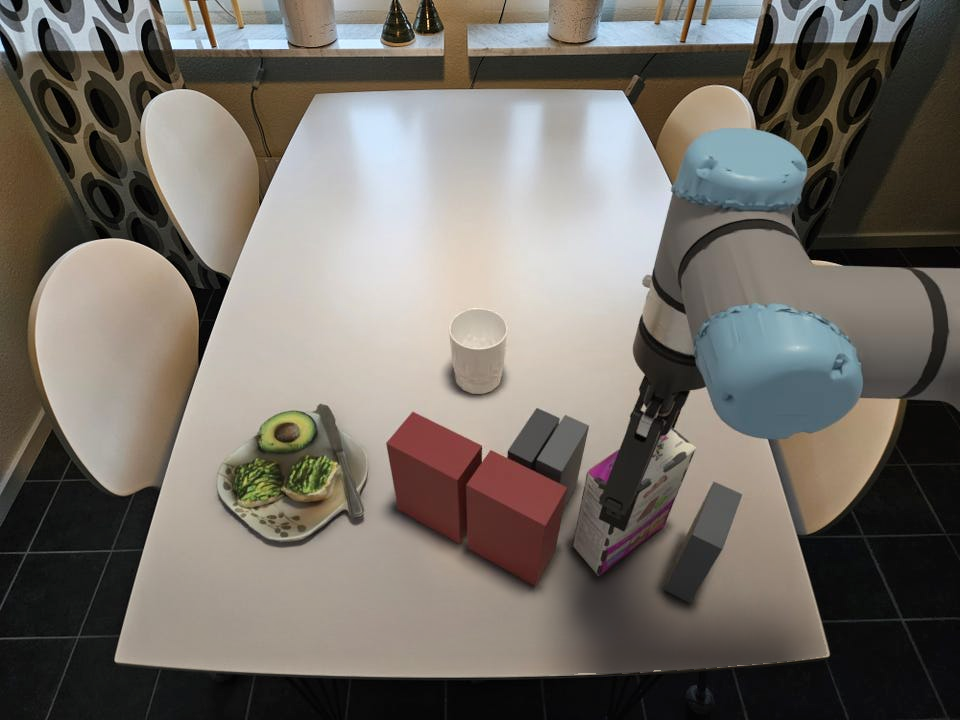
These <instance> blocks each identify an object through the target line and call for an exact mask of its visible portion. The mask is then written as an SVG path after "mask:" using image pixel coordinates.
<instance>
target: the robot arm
mask: <svg viewBox="0 0 960 720" xmlns="http://www.w3.org/2000/svg"><path fill="white" fill-rule="evenodd" d="M685 150H686V151H685V152H684V155H683V158H682V161H681V164H680V167H679V169H678V172H677V175H676V178H675V181H674V182H673V184H672V185H671V188H670V192H672V194H671V197H670V200H669V201H670V202H669V206H668V210H667V213H666V217H665V222H664V224H663V229H662V232H661V237H660V241H659V245H658V249H657V253H656V255H655V256H656V257H655V259H654V266H653V268H652V273H651V274H646V275H645V276H644V277H643V278H642V280H641V284H642V286H643V287H645V288H647V289H649V290H648V292H647V294H646V297H645V300H644V304H643V307H642V313H641V315H640V317H639V321H638V325H637V328H636V332H635V336H634V340H633V344H632V355H633V358H634V361H635V363H636V365H637V367H638V368H639V370H640V371H641V372H642V373H643V375H644V376H643V377H642V380H641V382H640V384H639V387H638V391H639V394H638V398H637V400H636V402H635V405H634V407H633V410H632V411H631V413H630V414H629V421H628V426H627V428H626V431H625V434H624V436H623V440H622V442H621V444H620V447H619V449H618V450H619V452H618V455H617V457H616V460H615V462H614V465H613V468H612V470H611V473H610V475H609V478H608V481H607V482H605V481H603V480H602V481H601V482H600V483H599V486H598V488H599V489H602V490H604V491H603V494H601V495H600V498H599V499H600V500H599V504H601V505H602V508H601V512H600V515H599V519H600V520H602V521H604V522H606V523H608V524H610V525H612V526H614V527H616V528H618V529H620V530H622V531H623V532H625V530H626V527H627V525H628V522H629V520H630V517H631V514H632V511H633V509H634V506H635V503H636V500H637V498H638V495H639V492H640V491H638V489H639V486H640V484H641V482H642V479H643V477H644V475H645V472H646V470H647V468H648V465H649V463H650V461H651V458H652V456H653V454H654V451H655V449H656V447H657V444H658V442H659V440H660V437H661V436H662V435H666V434H668V432H669V431H670V429H671V427H673V429H674V430H675V427H676V425H677V422H678V419H679V417H680V414H681V412H682V410H683V407H684V406H685V405H686V403H687V402H686V401H687V400H688V398H689V396H690V393H691V391H695V390H696V391H697V390H702V389H704V388H706V390H707V393H708V396H709V399H710V403H711V404H712V407H713V410H714V412H715V413H716V415H717V416H718V417H719V419H720V420H721V421H722V422H723V424H726V426H728V427H729V428H731V429H732V430H734V431H736V432H738V433H740V434H743V435H745V436H748V437H751V438H756V439H762V440H787V439H789V438H791V437H792V436H793V435H795V434H799V433H804V434H814V433H818V432H820V431H822V430H824V429H827V428H829V427H831V426H833V425H834V424H836V423H837V422H839V421H840V420H842V419H843V418H844V417H846V416H847V415H848V414H849V413H850V412H851V411H852V410H853V409H854V407H855V406H856V405H857V403H858V402H859V400H860V399H875V400H877V399H879V400H880V399H882V400H912V401H913V400H914V401H937V402H938V401H939V402H944V403H947V404H950V405H951V406H953V407H954V409H956V410H957V411H958V412H959V413H960V268H957V267H956V268H953V267H951V268H950V267H906V266H904V267H902V266H897V267H896V266H895V267H891V266H863V265H862V266H861V265H857V266H856V265H829V264H828V265H826V264H825V265H824V264H823V265H821V264H814V263H813V262H812V260H811V258H810V257H809V256H808V254H807V251H806V249H805V247H804V245H803V243H802V241H801V239H800V237H799V235H798V232H797V230H796V229H795V227H794V224H793V222H792V221H793V220H792V219H793V217H792V216H793V212H794V210H796V209H795V208H796V207H797V206H798V205H799V204H801V201H802V192H803V188H804V184H805V182H806V178H807V175H808V164H807V161H806V159H805V157H804V155H803V153H802V152H801V151H800V150H799V149H798V148H797V146H795V145H794V144H793V143H791V142H790V141H788V140H786V139H784V138H783V137H781V136H778V135H776V134H774V133H771V132H768V131H764V130H759V129H755V128H747V127H723V128H718V129H714V130H711V131H708V132H705V133H703V134H701V135H700V136H698V137H696V138H695V139H694V140H692V142H691V143H690V144H689V146H688V147H687V148H686V149H685ZM643 407H645V408H646V409H645V411H643V409H642V408H643ZM662 419H663V420H662ZM664 420H665V421H666V423H664Z"/></svg>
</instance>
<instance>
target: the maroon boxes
mask: <svg viewBox="0 0 960 720" xmlns="http://www.w3.org/2000/svg"><path fill="white" fill-rule="evenodd" d="M385 445H386V450H387V455H388V461H389V466H390V473H391V479H392V484H393V490H394V494H395V500H396V501H395V502H396V504H397V510H398V511H400V512H402V513H404V514H406V515H408V516H409V517H411V518H413V519H414V520H416V521H418V522H420V523H422V524H424V525H425V526H427V527H428V528H431V529H433V530H434V531H436V532H438V533H439V534H441V535H443V536H445V537H447V538H448V539H451V540H452V541H454V542H456V543H458V544H459V545H461V543H462V542H463V540H464V539H465V537H466V536H467V539H466V540H467V549H468V550H469V551H472V552H474V553H475V554H478V555H479V556H481V557H482V558H484V559H486V560H487V561H490V562H492V563H493V564H495V565H497V566H499V567H500V568H502V569H504V570H506V571H507V572H509V573H512V574H513V575H515V576H517V577H518V578H521V579H522V580H523V581H525V582H527V583H529V584H531V585H532V586H535V587H536V586H537V585H538V583H539V581H540V580H541V578H542V576H543V574H544V572H545V570H546V568H547V566H548V565H549V563H550V561H551V559H553V558H552V557H553V556H554V554H555V552H556V549H557V545H558V540H559V538H558V537H559V535H560V534H559V533H560V528H561V524H562V518H563V513H564V510H563V508H564V503H565V498H566V493H567V487H565V486H563V485H561V484H559V483H557V482H555V481H553V480H551V479H549V478H547V477H545V476H543V475H541V474H539V473H537V472H535V471H533V470H531V469H529V468H527V467H525V466H523V465H521V464H519V463H516V462H514V461H512V460H510V459H508V458H507V456H504V455H502V454H500V453H498V452H496V451H494V450H492V449H490V450H489V452H488V453H487V454H486V456H485V457H484V458H483V445H482V444H479V443H478V442H475V441H473V440H471V439H469V438H467V437H466V436H463V435H461V434H459V433H457V432H455V431H453V430H451V429H449V428H448V427H445V426H443V425H442V424H441V425H440V424H439V423H437V422H435V421H433V420H430V419H429V418H427V417H425V416H423V415H421V414H418V413H417V412H414V411H411V413H410V414H409V415H408V416H407V418H406V419H405V420H404V421H403V422H402V424H401V425H400V426H399V427H398V428H397V430H396V431H394V433H393V434H392V436H391V437H390V438H389V439H388V440H387V441H386V442H385ZM564 509H565V508H564Z"/></svg>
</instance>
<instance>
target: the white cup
mask: <svg viewBox="0 0 960 720" xmlns="http://www.w3.org/2000/svg"><path fill="white" fill-rule="evenodd" d="M507 323H508V322H507V321H506V319H505V318H504V317H503V316H502V315H501V314H500V313H499V312H496V311H495V310H492V309H488V308H485V307H473V308H472V307H471V308H468V309H464V310H462V311H460V312H458V313H457V314H456V315H454V316H453V317H452V318H451V320H450V322H449V324H448V333H449V344H450V352H451V360H452V367H453V370H454V378H455V382H456V384H457V385H458V387H459V388H460V389H461V390H462V391H465V392H467V393H470V394H472V395H483V394H484V395H485V394H487V393H489V392H493V391H494V390H495V389H496V388H497V387H498V386H499V385H500V384H501V380H502V377H503V369H504V365H505V360H506V359H505V358H506V351H507V340H508V332H509V327H508V324H507Z"/></svg>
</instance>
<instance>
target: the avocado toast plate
mask: <svg viewBox="0 0 960 720" xmlns="http://www.w3.org/2000/svg"><path fill="white" fill-rule="evenodd" d="M368 458H369V457H368V454H367V451H366V450H365V449H364V448H363V447H362V446H361V444H359V442H357V441H356V440H354V439H353V438H352V437H350V436H349V435H348V434H347V433H345V432H344V431H342V430H341V429H339V428H338V426H337V425H336V418H335V415H334V413H333V411H332V409H331V408H330V406H329V405H327V404H324V403H318V404H317V406H316V409H315V410H314V411H300V410H287V411H282V412H280V413H277V414H274V415H273V416H271V417H269V418H268V419H267V420H265V421H264V422H263V423H262V424H261V425H260V426H259V431H258V432H257V434H255V435H254V436H253V437H252V438H250V439H249V440H247V441H246V442H245V443H243V444H242V445H240V447H238V448H237V449H236V450H234V451H233V452H232V453H231V454H229V456H227V457H226V458H225V459H224V461H223V462H222V463H221V465H220V467H219V469H218V472H217V477H216V491H217V494H218V496H219V497H220V500H221V501H222V503H223V504H224V505H225V507H226V508H227V509H228V510H229V511H231V512H232V513H234V514H235V515H237V517H239V519H240V520H242V521H243V522H244V523H245V524H247V526H248V527H250V528H251V529H252V531H254V532H256V533H257V534H259V535H261V537H263V538H264V539H267V540H270V541H274V542H279V543H285V542H288V543H289V542H295V541H301V540H304V539H306V538H308V537H309V536H311V535H312V534H314V533H315V532H317V531H319V530H320V529H321V528H322V527H324V526H326V524H328V523H329V522H330V521H331V520H332V519H333V518H334V517H336V516H337V515H338V514H340V513H341V512H344V511H347V512H348V514H349V516H350V517H351V518H353V519H357V518H361V517H363V516H364V514H365V507H364V505H363V502H362V499H361V496H360V494H361V490H362V488H363V486H364V485H365V483H366V481H367V479H368V470H369V459H368Z"/></svg>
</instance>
